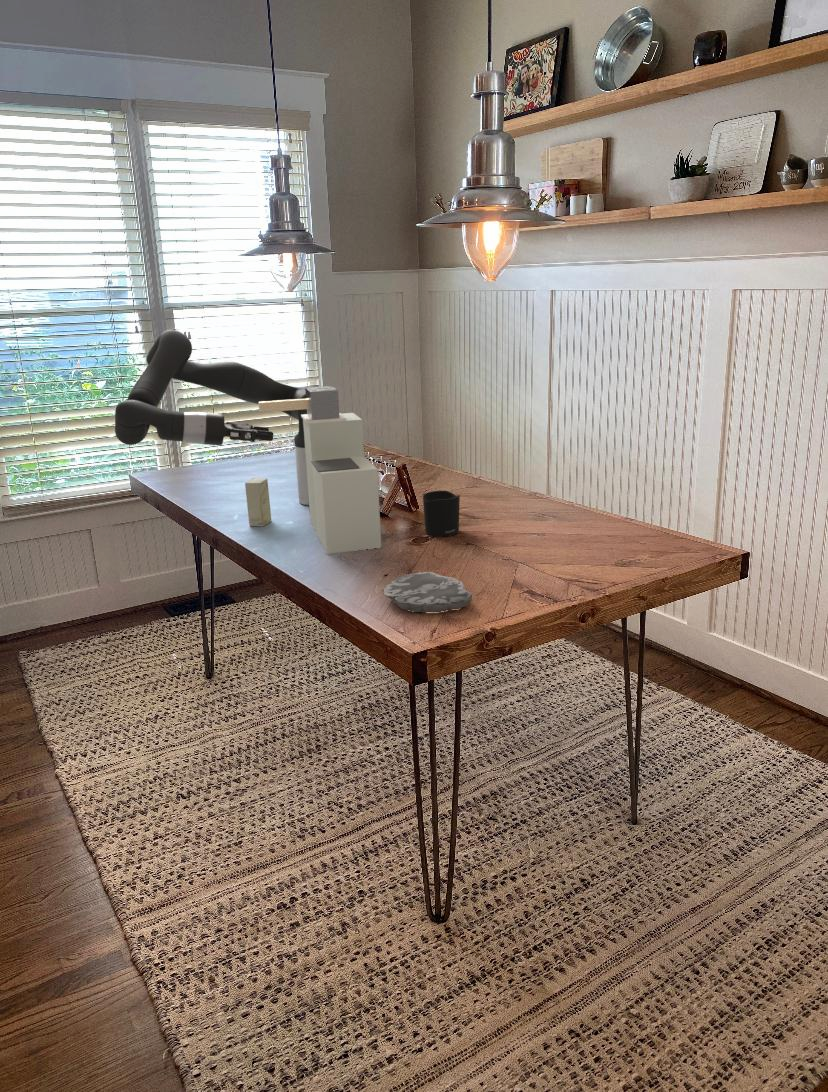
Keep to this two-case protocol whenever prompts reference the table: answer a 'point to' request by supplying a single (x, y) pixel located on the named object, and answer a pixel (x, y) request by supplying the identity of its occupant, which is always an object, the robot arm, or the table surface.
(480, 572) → the table surface
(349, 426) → the stepped stand
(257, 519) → the skincare box
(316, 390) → the mallet
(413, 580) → the brain slice
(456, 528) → the pen holder
